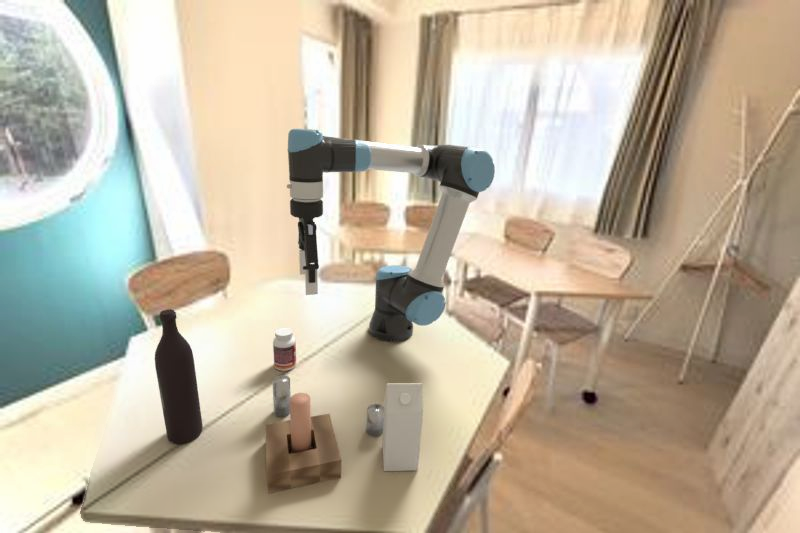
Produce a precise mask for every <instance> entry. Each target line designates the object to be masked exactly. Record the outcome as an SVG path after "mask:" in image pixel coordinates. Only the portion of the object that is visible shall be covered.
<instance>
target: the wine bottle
mask: <svg viewBox="0 0 800 533" xmlns="http://www.w3.org/2000/svg"><path fill="white" fill-rule="evenodd" d="M158 316H159V321H160V322H161V326H162V334H161V337H160V339H159V342H158V344H157V346H156V349H155V352H154V364H155V373H156V378H157V384H158V390H159V396H160V401H161V407H162V414H163V420H164V426H165V431H166V432H165V433H166V438H167V439H168V441H169V442H170V443H172V444H175V445H183V444H184V445H185V444H187V443H190V442H192V441H194V440H195V439H197V438H198V437H199V436H200V435H201V433H202V432H203V428H204V426H203V420H202V419H203V418H202V412H201V404H200V396H199V395H200V394H199V389H198V388H199V387H198V381H197V373H196V372H197V371H196V367H195V359H194V358H195V357H194V354H193V350H192V348H191V344H190V343H189V342H188V341H187V340H186V338H185V337H184V336H183V335H182V334H181V333H180V332H179V330H178V329H179V328H178V326H177V312H176V311H175V310H174V309H171V308H169V309H168V308H167V309H164V310H161V311H160V314H158Z"/></svg>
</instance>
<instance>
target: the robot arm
mask: <svg viewBox="0 0 800 533" xmlns="http://www.w3.org/2000/svg"><path fill="white" fill-rule="evenodd" d="M287 155H288V156H287V157H288V158H287V161H288V175H289V176H288V178H289V183H287V184H286V188H287V189H289V197H290V198H291V199H290V200H289V211H290V215H291V216H292V217H294V218H298V222H297V230H298V239H297V240H298V241H297V244H298V248H299V250H298V253H299V256H298V257H299V275H304V276H305V277H304V278H305V282H304V283H305V285H304V287H305V295H306V296H310V295H312V296H314V295H318V293H319V292H318V291H319V288H318V287H319V284H318V278H319V277H318V270H319V268H320V265H319V255H318V253H319V252H318V244H317V238H318V237H317V224H316V222H315V221H314V219H315V218H320V217H322V216H323V214H324V201H323V200H322V199H323V198H324V176H323V174H324V173H328V174H329V173H357V172H358V173H359V172H361V173H362V172H366V171H367V170H370V171H371V170H373V171H374V170H375V171H384V172H385V171H387V172H397V173H409V174H412V175H413V176H415V177H417V178H418V177H419V178H426V179H430V180H431V181H436V182H439V183H440V184H439V185H438V186H439V189H440V191H441V196H440V199H439V202H438V205H437V207H436V210H435V213H434V214H433V215H434V216H433V218H432V221H431V224H430V226H429V229H428V231H427V232H428V233H427V235H426V238H425V240H424V243H423V244H422V245H423V246H422V249H421V252H420V254H419V256H418V260H417V263H416V265H415V268H414V269H412V268H411V267H409V266H406V265H398V264H397V265H393V264H392V265H386V266H382V267H380V268H378V269H377V271H376V274H375V275H376V276H375V298H374V301H375V302H374V311H373V314H372V316H371V319H370V321H369V325H368V332H369V334H370V336H372V337H373V338H375V339H378V340H381V341H384V342H401V341H405V340H407V339H409V338H410V337H412V335H413V333H414V324H415V325H417V326H421V327H422V326H423V327H424V326H428V325H431V324H432V323H434V322H436V321H437V320H439V319H440V317H441V316H442V314H443V313H444V312H445V308H446V303H447V302H446V298H445V296H444V295H443V291H444V288H445V284H444V281H443V280H442V279H443V276H444V275H445V274H444V273H445V270H446V268H447V266H448V264H449V260H450V257H451V254H452V253H453V252H452V251H453V249H454V247H455V243H456V241H457V238H458V235H459V233H460V231H461V228H462V225H463V222H464V220H465V217H466V214H467V212H468V209H469V206H470V204H471V203H472V202H473V203H474V202H475V201H477V199H478V197H479V194H480V193H482V192H484V191H486V190H487V189H489V188H490V187H491V185H492V184H493V181H494V178H495V172H496V170H495V168H496V167H495V163H494V161H493V157H492V156H491V154H490V153H489V152H488V151H487V150H485V149H483V148H478V147H475V146H462V145H454V144H436V145H435V144H417V145H415V146H406V145H401V144H391V143H384V142H376V141H375V142H374V141H366V140H362V139H351V138H340V137H335V136H334V137H333V136H326V135H323V132H322V131H321V130H319V129H313V128H312V129H308V128H292V129H290V130H289V131H288V137H287Z"/></svg>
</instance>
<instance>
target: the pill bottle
mask: <svg viewBox="0 0 800 533" xmlns="http://www.w3.org/2000/svg"><path fill="white" fill-rule="evenodd" d="M274 333H275V334H274V336H275V337H274V339H273V341H272V347H273V348H272V350H273V351H272V352H273V365H274V366H273V367H274V368H275V369H276V370H278V371H281V372H286V371H290V370H292V369H293V370H294V368H296V365H297V348H296V347H297V346H296V344H297V341H296V338H295V337H294V336H293V335H294V334H293V329H291V328H290V327H282V328H281V327H280V328H278V329H276V330H275V331H274Z"/></svg>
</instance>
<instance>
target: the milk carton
mask: <svg viewBox="0 0 800 533" xmlns="http://www.w3.org/2000/svg"><path fill="white" fill-rule="evenodd" d="M383 403H384V406H383V407H384V422H383V433H382V442H381V443H382V445H381V446H382V461H383V462H382V464H383V471H384V472H408V471H418V470H419V463H420V462H419V460H420V449H421V448H420V447H421V439H422V438H421V437H422V428H423V427H422V425H423V416H424V404H423V383H422V382H417V383H416V382H412V383H411V382H408V383H407V382H401V383H399V382H397V383H395V382H393V383H390V382H389V383H388V382H387V383H386V388H385V389H384V402H383Z"/></svg>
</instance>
